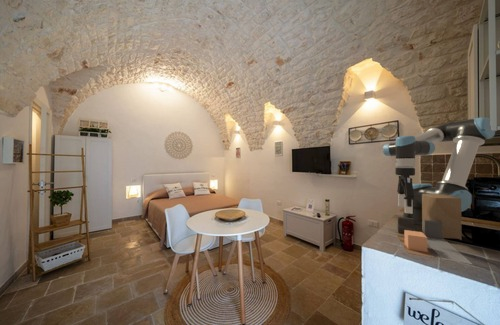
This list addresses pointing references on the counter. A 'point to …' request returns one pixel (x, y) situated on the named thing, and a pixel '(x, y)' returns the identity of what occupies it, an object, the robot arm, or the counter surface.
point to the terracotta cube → (415, 240)
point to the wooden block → (443, 213)
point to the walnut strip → (402, 238)
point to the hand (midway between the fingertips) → (404, 209)
